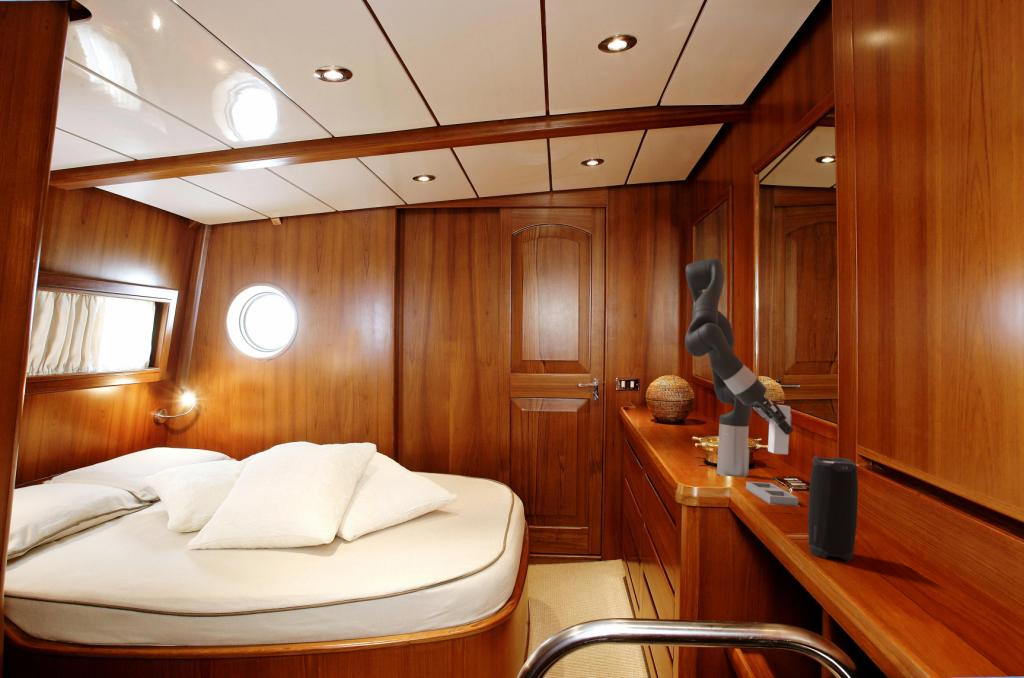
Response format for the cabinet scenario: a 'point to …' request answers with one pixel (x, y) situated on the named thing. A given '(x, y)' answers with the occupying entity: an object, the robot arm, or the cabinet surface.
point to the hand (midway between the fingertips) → (786, 431)
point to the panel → (772, 494)
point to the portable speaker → (833, 507)
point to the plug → (779, 434)
